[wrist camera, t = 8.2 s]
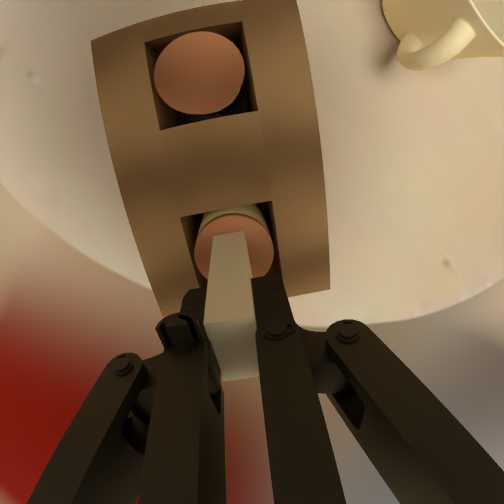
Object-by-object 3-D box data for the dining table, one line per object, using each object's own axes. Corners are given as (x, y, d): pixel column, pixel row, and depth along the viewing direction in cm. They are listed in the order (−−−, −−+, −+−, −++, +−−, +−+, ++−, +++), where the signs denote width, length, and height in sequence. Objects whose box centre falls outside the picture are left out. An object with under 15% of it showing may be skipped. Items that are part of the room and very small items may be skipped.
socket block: (136, 62, 17) (90, 40, 10) (273, 35, 17) (295, -4, 10) (180, 256, 24) (163, 316, 17) (301, 235, 24) (330, 288, 17)
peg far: (200, 187, 21) (185, 225, 14) (255, 177, 21) (268, 210, 14) (211, 238, 23) (204, 293, 16) (263, 228, 23) (278, 281, 16)
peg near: (176, 67, 17) (148, 43, 10) (234, 55, 17) (236, 24, 10) (186, 120, 19) (162, 123, 12) (244, 109, 19) (251, 105, 12)
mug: (410, 107, 20) (501, 118, 10) (336, 36, 17) (407, -4, 8) (464, 30, 16) (543, 23, 7) (404, -33, 13) (472, -70, 4)
